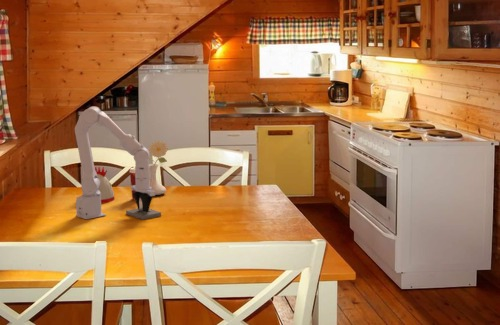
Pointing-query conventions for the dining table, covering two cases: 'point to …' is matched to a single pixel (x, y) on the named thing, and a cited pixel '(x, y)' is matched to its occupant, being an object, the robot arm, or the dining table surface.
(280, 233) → the dining table surface
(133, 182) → the paper cup
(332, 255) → the dining table surface
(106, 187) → the kitchen timer
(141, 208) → the battery cell
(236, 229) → the dining table surface
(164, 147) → the flower in vase
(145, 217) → the block
